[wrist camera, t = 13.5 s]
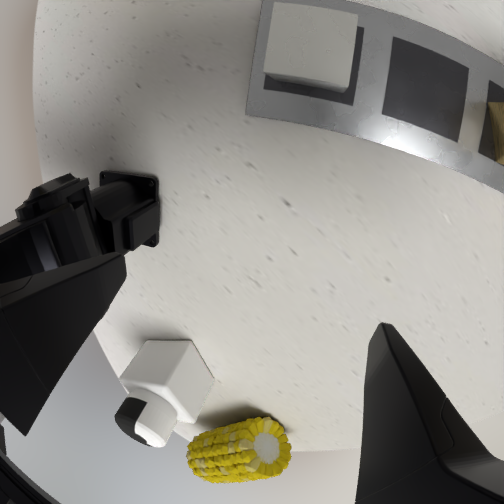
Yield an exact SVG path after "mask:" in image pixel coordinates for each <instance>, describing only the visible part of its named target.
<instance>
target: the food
mask: <svg viewBox="0 0 504 504" xmlns="http://www.w3.org/2000/svg"><path fill="white" fill-rule="evenodd" d="M283 433H284V428H283V427H282V426H280V425H279V423H278V422H276V421H274V420H271V418H270V417H264V418H263V419H262V418H260V417H257V418H255V419H253V418H250V419H247V420H246V421H242V422H238V423H234V424H230V425H227V426H226V427H218V428H216V429H214V430H210V431H205V432H204V433H201V434H199V436H194V438H193V442H190V443H189V445H188V446H187V447H188V449H189V451H187V455H186V457H187V459H189V460H188V465H189V467H190V468H192V470H193V473H194V475H197V476H199V477H200V478H202V479H203V480H204V481H206V480H207V481H209V482H211V483H214V482H216V483H219V482H221V483H230V482H232V483H233V482H239V483H240V482H245V481H246V482H247V481H249V480H252V481H254V480H257V479H267V478H270V477H275V476H278V475H280V474H281V473H282V471H283V469H286V468H287V466H288V462H289V461H290V459H291V454H290V450H291V448H292V447H291V444H290V443H286V442H287V441H288V438H287V436H286V434H283Z"/></svg>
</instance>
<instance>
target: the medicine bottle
mask: <svg viewBox="0 0 504 504" xmlns="http://www.w3.org/2000/svg"><path fill="white" fill-rule="evenodd" d="M119 380H120V382H121V383H122V384H123V386H124V387H125V388H126V389H127V390H128V392H129V394H128V396H127V397H126V399H125V400H124V402H123V404H122V405H121V406H120V408H119V410H118V411H117V413H116V414H115V421H116V423H117V424H118V426H119V427H120V429H121V430H122V431H123V432H124V433H126V434H127V435H129V436H130V437H131V438H133V439H134V440H136V441H138V442H140V443H142V444H145V445H147V446H151V447H163V446H165V445H166V443H167V441H168V439H169V437H170V435H171V433H172V431H173V429H174V427H175V425H176V423H177V421H181V422H187V423H195V422H196V420H197V418H198V415H199V413H200V411H201V409H202V407H203V404H204V402H205V400H206V398H207V396H208V393H209V391H210V389H211V387H212V384H213V382H214V378H213V376H212V375H211V373H210V372H209V370H208V368H207V367H206V365H205V363H204V361H203V360H202V358H201V356H200V355H199V353H198V351H197V349H196V348H195V346H194V344H193V343H192V341H163V340H147V341H146V342H145V343H144V344H143V346H142V347H141V349H140V350H139V351H138V353H137V354H136V355H135V357H134V358H133V360H132V361H131V362H130V364H129V365H128V366H127V368H126V369H125V371H124V372H123V373H122V375H121V376H120V378H119Z"/></svg>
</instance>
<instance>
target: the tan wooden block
mask: <svg viewBox="0 0 504 504" xmlns="http://www.w3.org/2000/svg"><path fill="white" fill-rule="evenodd" d="M488 107H489V112H490V118H491V124H492V131H493V138H494V147H495V157H496V162H498V163H500V164H503V165H504V103H502V102H488Z"/></svg>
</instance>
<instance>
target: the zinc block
mask: <svg viewBox="0 0 504 504" xmlns="http://www.w3.org/2000/svg"><path fill="white" fill-rule="evenodd" d="M357 22H358V15H357V14H352V13H348V12H343V11H338V10H333V9H328V8H322V7H316V6H309V5H301V4H292V3H281V2H274V6H273V12H272V18H271V25H270V31H269V37H268V43H267V50H266V56H265V63H264V69H263V72H264V73H266V74H267V75H269V76H270V77H272V78H273V79H274V80H276V81H283V82H290V83H296V84H302V85H308V86H313V87H318V88H323V89H328V90H333V91H337V92H341V93H344V92H345V91H346V89H347V88H348V87H349V80H350V74H351V67H352V61H353V54H354V46H355V39H356V30H357Z"/></svg>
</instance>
